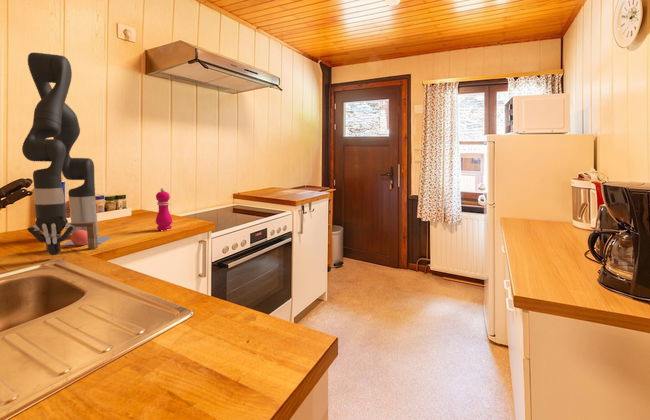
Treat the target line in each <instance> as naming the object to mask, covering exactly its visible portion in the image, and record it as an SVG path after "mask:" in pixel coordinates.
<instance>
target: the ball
mask: <svg viewBox="0 0 650 420" xmlns="http://www.w3.org/2000/svg"><path fill="white" fill-rule="evenodd" d="M70 241H72V242H73V243H74V244H75V245H74V246H85V244H86V245H88V244H87V243H88V237H87V231H85V230H77V231H75V232H73V233H71V234H70Z"/></svg>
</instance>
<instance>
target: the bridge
mask: <svg viewBox="0 0 650 420" xmlns="http://www.w3.org/2000/svg"><path fill="white" fill-rule="evenodd" d="M68 223H69V224H71V225H72V226H73V225H75V226H76V227H87V237H88V244H87V246H88V250H91V251H92V250H96V249H97V248H99V244H98V242H97V237H98V235H97V229H96V222H74V223H71V222H68ZM64 228H66V226H65V227H64ZM45 247H46V248H45V249H46V250H45V251H46V252H48V244H47V243H45Z"/></svg>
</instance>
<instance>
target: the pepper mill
mask: <svg viewBox="0 0 650 420" xmlns="http://www.w3.org/2000/svg"><path fill="white" fill-rule="evenodd" d="M165 190H166V189H165V188H164V187H162V188H160V191H158V192H157V193H156V195H155V199H156V200H157V205H158V212H157V214H156V218H155V223H156V225H157V227H156V229H158V230H167V229H171V228H173V227H172V225H171V224H173V216H172V215H171V213H170V210H169V205H170V202H169V200H170V199H171V195H170V193H169V192H168V191H165ZM158 230H157V231H158Z"/></svg>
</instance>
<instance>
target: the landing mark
mask: <svg viewBox="0 0 650 420" xmlns="http://www.w3.org/2000/svg"><path fill="white" fill-rule="evenodd" d="M111 238H112V236H97V242H98V245H101V244H103V243H105V242H107V241H108V240H110V239H111ZM85 245H88V243H87V244H85ZM85 245H84V246H85ZM62 246H76V245H75V244H74V243H73V242H72V241H71V240H70V241H67V242H66V243H63V244H62Z"/></svg>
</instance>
